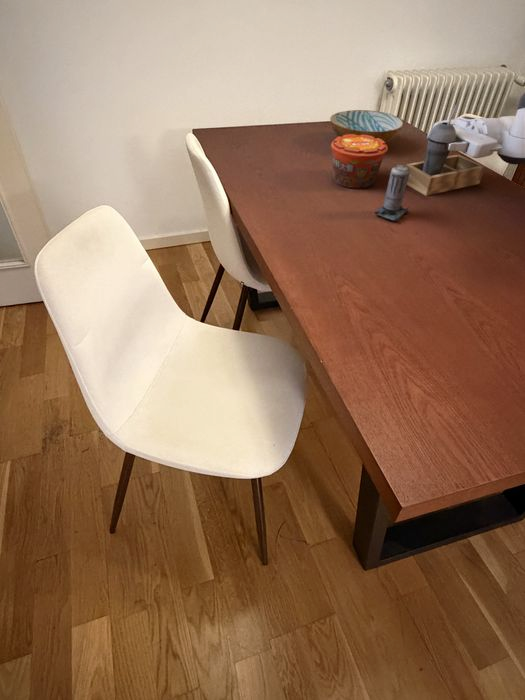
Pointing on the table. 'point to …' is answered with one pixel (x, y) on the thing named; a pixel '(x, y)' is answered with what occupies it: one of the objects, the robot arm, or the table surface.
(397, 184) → the grey column figurine
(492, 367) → the table surface
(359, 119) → the bowl
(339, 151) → the food container
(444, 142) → the beverage cup
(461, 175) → the wooden divided box
